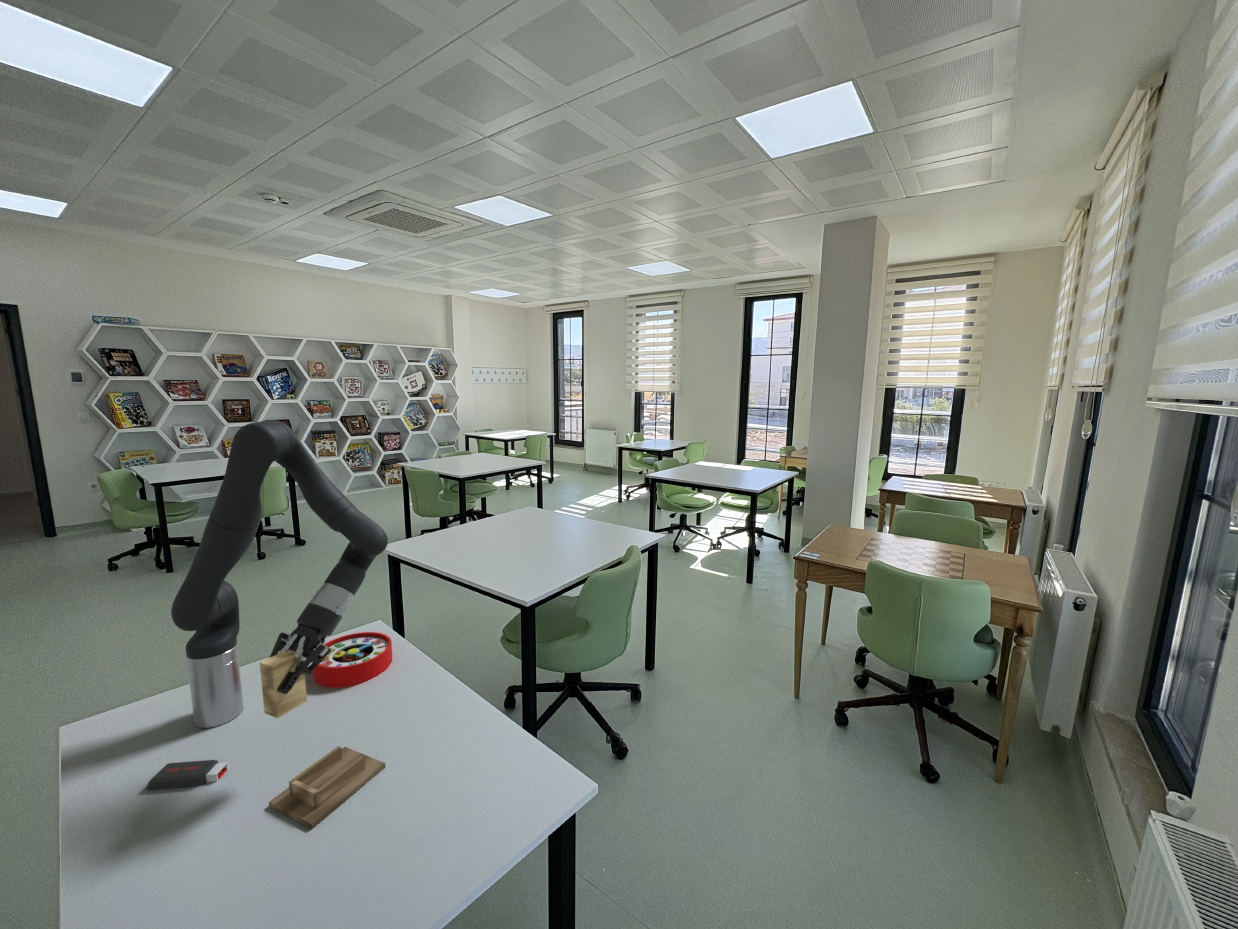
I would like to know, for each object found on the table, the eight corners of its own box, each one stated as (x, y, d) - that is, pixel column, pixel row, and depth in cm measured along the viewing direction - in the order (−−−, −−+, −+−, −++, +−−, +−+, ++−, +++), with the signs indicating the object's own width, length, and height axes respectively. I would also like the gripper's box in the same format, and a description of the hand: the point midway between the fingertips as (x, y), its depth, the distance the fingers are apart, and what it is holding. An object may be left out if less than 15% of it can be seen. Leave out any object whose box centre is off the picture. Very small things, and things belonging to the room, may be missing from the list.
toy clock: (297, 653, 135) (367, 625, 152) (299, 673, 136) (368, 643, 153) (335, 676, 124) (405, 644, 141) (336, 697, 125) (406, 662, 142)
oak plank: (264, 713, 97) (259, 662, 96) (294, 696, 103) (290, 648, 101) (277, 718, 96) (272, 667, 94) (306, 701, 101) (302, 652, 100)
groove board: (269, 806, 92) (267, 788, 91) (345, 750, 106) (344, 734, 106) (312, 829, 87) (310, 809, 87) (385, 767, 102) (384, 750, 101)
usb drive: (168, 772, 100) (166, 760, 100) (231, 767, 102) (230, 755, 101) (147, 792, 95) (145, 780, 95) (214, 787, 97) (213, 774, 96)
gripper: (291, 596, 106) (236, 676, 97) (337, 608, 101) (282, 694, 91) (316, 609, 112) (266, 686, 102) (361, 621, 106) (311, 703, 97)
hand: (274, 689), depth 97 cm, fingers closed on oak plank, 4 cm apart
